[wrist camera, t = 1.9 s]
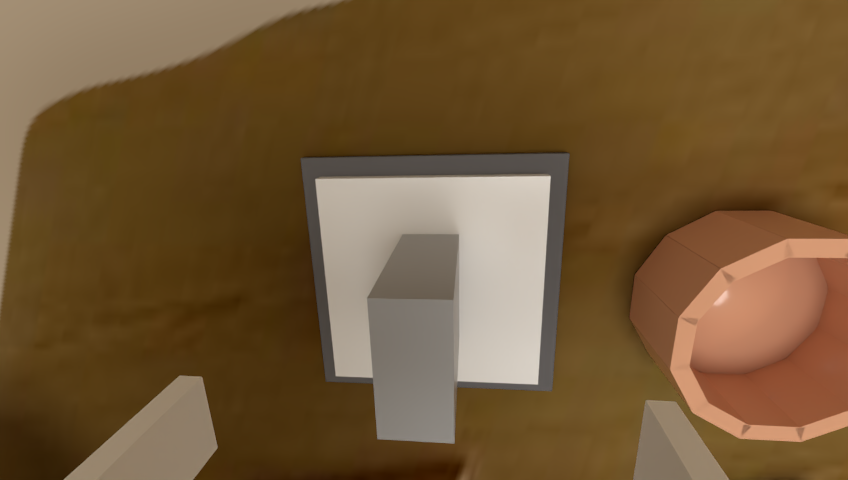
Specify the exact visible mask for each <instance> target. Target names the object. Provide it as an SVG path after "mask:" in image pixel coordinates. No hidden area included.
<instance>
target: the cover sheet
mask: <svg viewBox="0 0 848 480" xmlns="http://www.w3.org/2000/svg"><path fill="white" fill-rule="evenodd" d="M550 179H551V176H550V175H549V174H493V175H417V176H341V177H319V178H316V179H315V182H316V192H317V201H318V211H319V220H320V230H321V240H322V249H323V259H324V268H325V278H326V287H327V297H328V306H329V316H330V326H331V335H332V345H333V354H334V364H335V373H336V376H342V377H366V378H373V386H374V399H375V413H376V426H377V439H385V440H402V441H420V442H437V443H454V444H455V422H456V400H457V381H463V382H487V383H511V384H536V385H538V375H539V359H540V342H541V326H542V310H543V293H544V277H545V261H546V245H547V228H548V212H549V196H550Z"/></svg>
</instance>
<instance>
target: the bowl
mask: <svg viewBox="0 0 848 480" xmlns="http://www.w3.org/2000/svg"><path fill="white" fill-rule="evenodd" d="M629 318H630V320H631V322H632V324H633V326H634V328H635V330H636V331H637V333H638V335H639V337H640V339H641V341H642V343H643V345H644V346H645V348H646V350H647V352H648V354H649V355H650V356H651V358H652V359H653V360H654V362H655V363H656V364H657V366H658V367H659V368H660V370H661V371H662V372H663V374H664V375H665V376H666V378H667V379H668V380H669V382H670V383H671V384H672V386H673V387H674V389H675V390H676V391H677V393H678V394H679V395H680V397H681V398H682V399H683V401H684V402H685V403H686V405H687V406H688V407H689V409H690V410H691V411H692V413H694V414H696V415H698V416H699V417H701V418H703V419H705V420H707V421H708V422H710V423H712V424H714V425H716V426H718V427H719V428H721V429H723V430H725V431H727V432H729V433H730V434H732V435H734V436H736V437H738V438H740V439H757V440H776V441H795V442H802V441H805V440H808V439H811V438H814V437H817V436H820V435H823V434H826V433H829V432H832V431H835V430H838V429H841V428H843V427H846V426H848V235H846V234H843V233H840V232H837V231H834V230H831V229H827V228H824V227H821V226H818V225H815V224H812V223H809V222H805V221H802V220H799V219H796V218H793V217H790V216H787V215H784V214H780V213H777V212H774V211H715V212H712V213H710V214H708V215H706V216H704V217H702V218H700V219H698V220H696V221H694V222H692V223H690V224H688V225H686V226H684V227H681V228H679V229H677V230H675V231H673V232H671V233H669V234H667V235H666V236H665V237H664V238H663V239H662V241H661V242H660V243H659V244H658V246H657V247H656V248H655V249H654V251H653V252H652V253H651V255H650V256H649V257H648V258H647V260H646V261H645V262H644V263H643V265H642V266H641V267H640V269H639V270H638V271H637V272H636V274H635V276H634V284H633V292H632V300H631V307H630V315H629Z"/></svg>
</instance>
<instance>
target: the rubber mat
mask: <svg viewBox="0 0 848 480" xmlns="http://www.w3.org/2000/svg"><path fill="white" fill-rule="evenodd" d="M301 167H302V175H303V184H304V193H305V202H306V211H307V220H308V228H309V237H310V246H311V255H312V264H313V273H314V281H315V290H316V299H317V308H318V317H319V326H320V334H321V343H322V352H323V361H324V370H325V378H326V382H349V383H372V384H373V378H366V377H342V376H336V373H335V364H334V354H333V345H332V335H331V326H330V316H329V306H328V297H327V287H326V278H325V268H324V259H323V249H322V240H321V230H320V220H319V211H318V201H317V192H316V182H315V179H316V178H319V177H341V176H417V175H493V174H549V175H550V176H551V179H550V196H549V212H548V228H547V245H546V261H545V277H544V293H543V310H542V326H541V342H540V359H539V375H538V385H536V384H511V383H487V382H463V381H457V387H465V388H489V389H512V390H536V391H552V384H553V371H554V357H555V344H556V330H557V316H558V303H559V289H560V276H561V262H562V248H563V235H564V221H565V207H566V194H567V180H568V167H569V153H567V152H562V153H508V154H454V155H400V156H346V157H304V158H301Z"/></svg>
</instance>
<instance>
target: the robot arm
mask: <svg viewBox="0 0 848 480" xmlns="http://www.w3.org/2000/svg"><path fill="white" fill-rule="evenodd" d="M217 448H218V446H217V442H216V437H215V433H214V428H213V424H212V419H211V415H210V410H209V406H208V401H207V397H206V392H205V388H204V383H203V379H202V377H198V376H179V377H177V378H176V379H175V380H174V381H173V382H172V383H171V384H170V385H169V386H167V387H166V388H165V389H164V390H163V391H162V392H161V393H160V394H158V395H157V396H156V397H155V398H154V399H153V400H152V401H151V402H150V403H148V404H147V405H146V406H145V407H144V408H143V409H142V410H141V411H140V412H138V413H137V414H136V415H135V416H134V417H133V418H132V419H131V420H129V421H128V422H127V423H126V424H125V425H124V426H123V427H122V428H121V429H119V430H118V431H117V432H116V433H115V434H114V435H113V436H112V437H111V438H109V439H108V440H107V441H106V442H105V443H104V444H103V445H102V446H100V447H99V448H98V449H97V450H96V451H95V452H94V453H93V454H92V455H90V456H89V457H88V458H87V459H86V460H85V461H84V462H83V463H82V464H80V465H79V466H78V467H77V468H76V469H75V470H74V471H73V472H72V473H70V474H69V475H68V476H67V477H66V478H65V479H64V480H193V479H194V478H195V477H196V475H197V474H198V473H199V471H200V470H201V469H202V468H203V466H204V465H205V464H206V462H207V461H208V460H209V458H210V457H211V456H212V454H213V453H214V452H215V451H216V449H217ZM633 479H634V480H729V479H728V477H727V476H726V474H725V473H724V471H723V470H722V469H721V467H720V466H719V464H718V463H717V461H716V460H715V458H714V457H713V455H712V454H711V453H710V451H709V450H708V448H707V447H706V445H705V444H704V442H703V441H702V439H701V438H700V436H699V435H698V434H697V432H696V431H695V429H694V428H693V426H692V425H691V423H690V422H689V420H688V419H687V418H686V416H685V415H684V413H683V412H682V410H681V409H680V407H679V406H678V404H677V403H676V402H672V401H653V400H646V402H645V408H644V415H643V421H642V427H641V434H640V440H639V446H638V453H637V459H636V465H635V472H634V478H633Z"/></svg>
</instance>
